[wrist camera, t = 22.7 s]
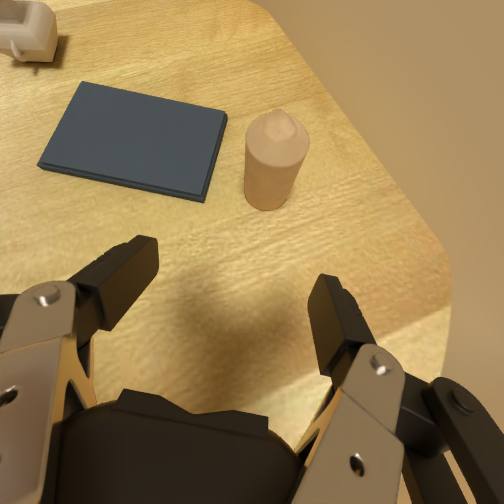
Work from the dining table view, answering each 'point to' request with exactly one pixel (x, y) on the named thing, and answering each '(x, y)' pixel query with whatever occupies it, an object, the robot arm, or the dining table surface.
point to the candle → (273, 158)
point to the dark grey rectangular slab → (137, 141)
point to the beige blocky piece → (27, 30)
